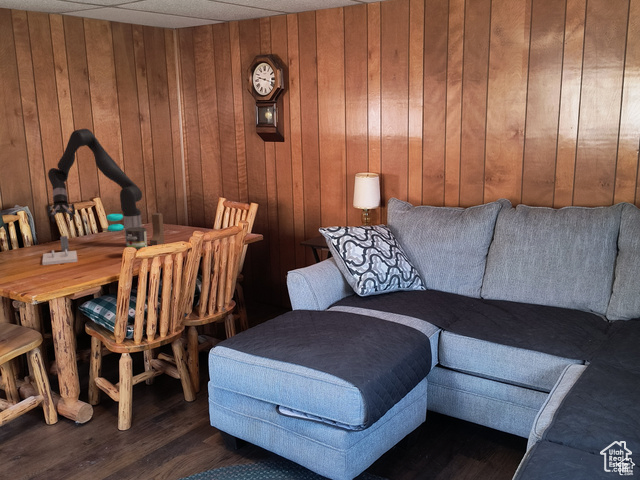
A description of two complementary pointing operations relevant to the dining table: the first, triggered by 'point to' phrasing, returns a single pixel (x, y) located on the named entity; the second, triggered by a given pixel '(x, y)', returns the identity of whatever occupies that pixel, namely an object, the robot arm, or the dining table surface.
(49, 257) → the grey peg board
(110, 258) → the dining table surface
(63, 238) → the block
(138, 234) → the coffee can
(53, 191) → the robot arm
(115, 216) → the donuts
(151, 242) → the wooden block
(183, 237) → the dining table surface
